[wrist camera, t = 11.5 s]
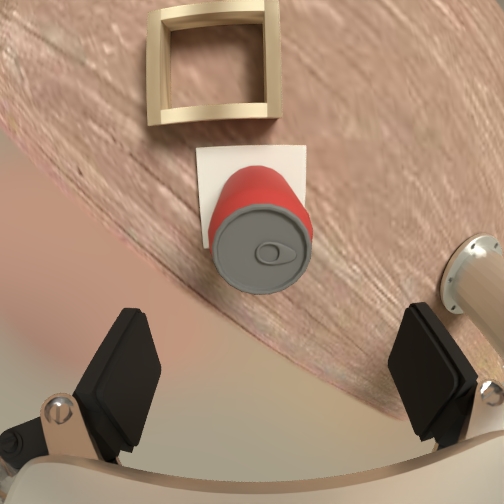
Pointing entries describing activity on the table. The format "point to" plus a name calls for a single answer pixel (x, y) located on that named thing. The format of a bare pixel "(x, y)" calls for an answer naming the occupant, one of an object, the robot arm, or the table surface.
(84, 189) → the table surface
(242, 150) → the coaster
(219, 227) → the beer can
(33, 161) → the table surface
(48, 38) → the table surface
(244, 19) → the frame
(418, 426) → the robot arm
